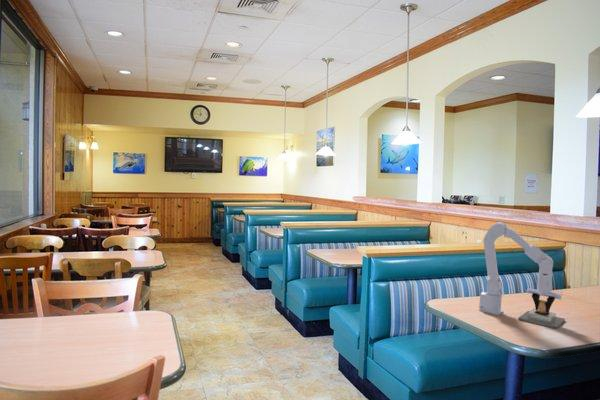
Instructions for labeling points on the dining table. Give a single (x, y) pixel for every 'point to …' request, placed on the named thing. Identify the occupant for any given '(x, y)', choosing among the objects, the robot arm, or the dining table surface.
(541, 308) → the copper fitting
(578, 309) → the dining table surface
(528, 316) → the flange socket
